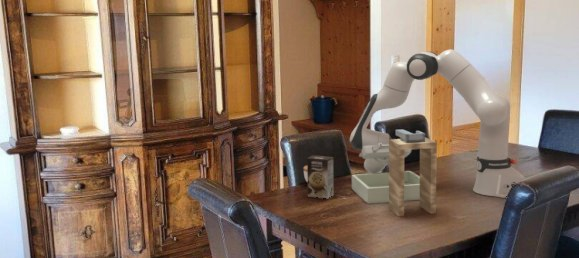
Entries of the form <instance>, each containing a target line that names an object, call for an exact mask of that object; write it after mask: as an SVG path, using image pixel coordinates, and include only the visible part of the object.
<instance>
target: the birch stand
mask: <svg viewBox="0 0 579 258" xmlns="http://www.w3.org/2000/svg"><path fill="white" fill-rule="evenodd" d="M437 145H438V142H437V141H435V140H432V139H430V138H428V137H426V136H425V142H415V143H405V142H403V141H401V140H400V138H397V139H396V138H392V139H390V140H389V165H388V172H389V202H388V208H389V209H390V211H392V212H393V214H395V215H396V216H397V217H404V216H405V201H404V171H405V158H404V150H411V151H412V150H419V176H420V195H419V200H418V201H419V207H421V208H422V210H425V212H427V213H429V214H436V211H437V159H438V158H437V154H438V153H437V151H438V149H437V148H438V146H437Z"/></svg>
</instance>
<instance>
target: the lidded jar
mask: <svg viewBox="0 0 579 258" xmlns="http://www.w3.org/2000/svg"><path fill="white" fill-rule="evenodd" d="M303 176H304V179H305V181H306V183H308V172H307V165H304V166H303Z"/></svg>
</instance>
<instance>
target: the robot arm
mask: <svg viewBox="0 0 579 258" xmlns="http://www.w3.org/2000/svg"><path fill="white" fill-rule="evenodd" d="M437 74H438V75H441V76H442V77H443V78H444V79H445V80H446V81H447V82H448V83H449V84H450V86H452V87H453V88H454V89H455V90H456V91H457V93H458V94H459V96H461V97H462V98H463V100H464V101H465V102H466V103H467V105H468V106H469V108H471V111H473V113H474V114H475V115H476V116H477V117H478V118H479V120H480V122H479V131H478V132H479V133H478V143H477V144H478V149H477V150H478V151H477V152H478V153H477V157H476V176H475V181H474V186H473V188H472V191H473V192H474V193H476V194H478V195H483V196H489V197H497V198H502V199H503V198H507V197H506V196H507V194H508V192H509V190H510V188H511V187H512V186H513V185H514V184H516V183H518V182H520V181H522V180H524V179H525V180H526V178H525V176H524V175H523V174H522V173H520V172H519V171H518V170H516V168H514V167H513V166H512V165H516V164H517V159H516V158H515V159H514V158H510V157H509V156H508V153H509V152H508V151H509V150H508V148H509V135H510V133H509V131H510V122H511V121H510V118H511V103H510V101H509V99H508V97H506V96H504V95H503V94H500V93H497V92H496V91H495V89H493V88H492V86H491V85H490V84H489V82H488V81H487V80H486V78H485V77H484V76H483V75H482V74H481V73H480V72H479V71H478V70H477V68H475V67H474V66H473V64H471V62H470V61H469V60H467V59H466V57H464V56H463V55H461V54H460V53H459V52H458V51H456V50H455V49H445V50H444V51H442V52H441V53H440V54H437V53H436V52H434V51H421V52H417V53H415V54H413V55H412V56H411V57H409V59H408V60H407V62H406V61H397V62H394V63H393V64H392V65H391V66H390V69H389V71H388V73H387V75H386V78H385V80H384V84H383V86H382V87H381V89H380V90H379V91H378V92H377V93H375V94H372V96H371V97H370V99H369V100H368V102H367V104H366V106H365V108H364V109H363V112H362V114H361V115H360V117H359V119H358V122H357V123H356V124H355V127H354V129H353V130H352V131H351V132H350V133H351V134H350V135H349V136H350V137H349V144H350V146H351V147H352V148H353V150H356V151H361V152H360V153H359V155H358V157H359V158H362V159H364V163H363V167H364V169H365V171H366V172H368V173H369V174H371V173H381V171H383V170H384V169H385V168H386V167H387V166H389V140H390V139H393V138H392V137H391V135H390V134H389V133H387V132H383V131H377V130H373V129H370V128H367V127H368V125H369V124H370V122H371V121H372V118H373V116H374V114H375V113H377V112H378V111H381V110H387V109H395V108H398V107H400V106H402V105H403V104H404V103H405V102H406V100H407V99H408V96H409V93H410V91H411V87H412V85H413V82H414V81H415V80H416V81H417V80H418V81H423V80H427V79H430V78H432V77H434V76H436V75H437ZM411 153H412V149H411V150H404V159H405V158H407V157H408V156H410V154H411Z"/></svg>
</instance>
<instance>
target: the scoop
mask: <svg viewBox="0 0 579 258" xmlns="http://www.w3.org/2000/svg"><path fill="white" fill-rule="evenodd" d="M395 136H396V137H399V139H400V140H401V141H403V142H405V143H415V142H425V137H426V133H425V132H422V131H420V130H416V131H415V133H413V132H410V131H408V130H405V129H395Z"/></svg>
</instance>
